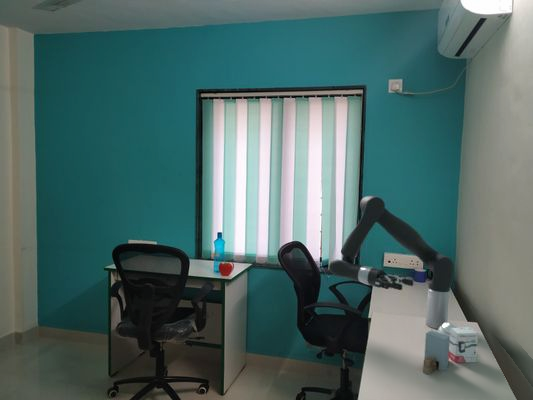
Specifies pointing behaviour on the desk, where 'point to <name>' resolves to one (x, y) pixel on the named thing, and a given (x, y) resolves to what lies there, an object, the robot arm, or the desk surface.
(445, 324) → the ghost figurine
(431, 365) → the notched rail
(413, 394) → the desk surface
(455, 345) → the ink box
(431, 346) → the notched block
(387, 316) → the desk surface
